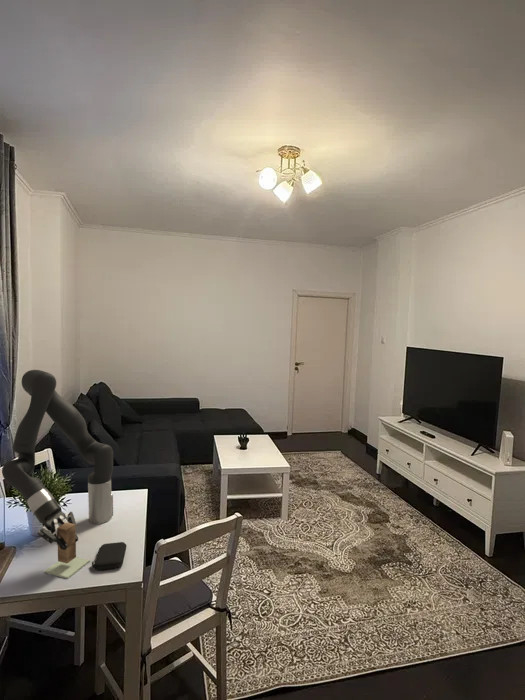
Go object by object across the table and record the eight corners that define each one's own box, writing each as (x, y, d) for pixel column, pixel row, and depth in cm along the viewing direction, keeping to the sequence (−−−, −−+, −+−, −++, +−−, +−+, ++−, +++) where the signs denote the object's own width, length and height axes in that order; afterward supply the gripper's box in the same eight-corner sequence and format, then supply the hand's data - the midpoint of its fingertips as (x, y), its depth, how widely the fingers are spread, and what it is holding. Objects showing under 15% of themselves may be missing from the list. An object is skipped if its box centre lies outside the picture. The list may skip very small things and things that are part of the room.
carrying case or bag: (97, 550, 151) (89, 574, 136) (97, 542, 150) (89, 566, 136) (127, 547, 153) (122, 571, 139) (127, 539, 153) (122, 562, 138)
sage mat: (67, 556, 146) (67, 554, 146) (89, 561, 143) (89, 560, 143) (44, 572, 137) (44, 570, 137) (67, 578, 133) (67, 577, 133)
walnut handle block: (67, 554, 142) (66, 522, 141) (76, 557, 141) (75, 524, 140) (58, 561, 138) (57, 527, 137) (67, 563, 137) (66, 529, 136)
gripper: (31, 508, 134) (60, 550, 131) (65, 491, 147) (92, 529, 144) (20, 520, 136) (48, 562, 133) (54, 502, 149) (80, 540, 146)
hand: (71, 544), depth 138 cm, fingers closed on walnut handle block, 4 cm apart
